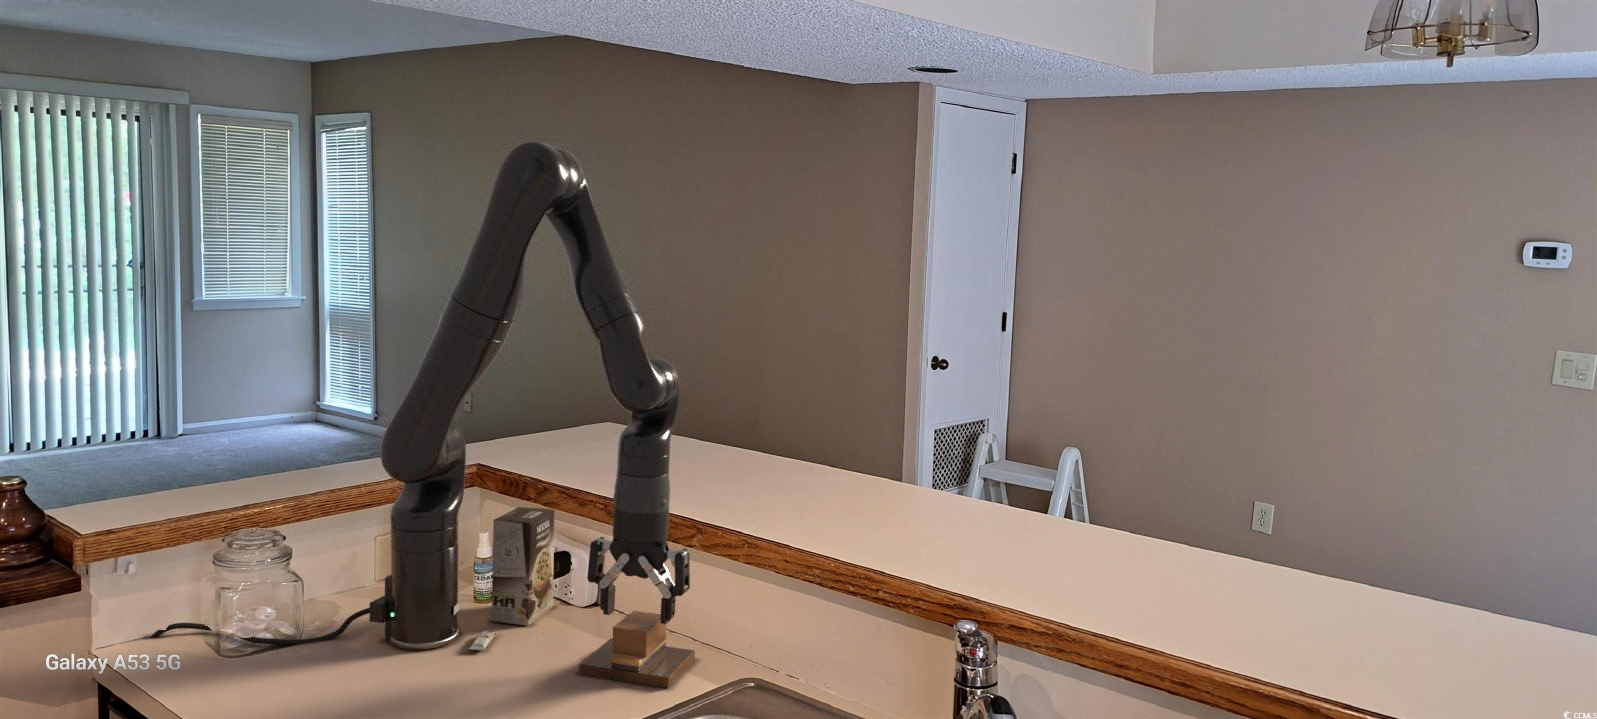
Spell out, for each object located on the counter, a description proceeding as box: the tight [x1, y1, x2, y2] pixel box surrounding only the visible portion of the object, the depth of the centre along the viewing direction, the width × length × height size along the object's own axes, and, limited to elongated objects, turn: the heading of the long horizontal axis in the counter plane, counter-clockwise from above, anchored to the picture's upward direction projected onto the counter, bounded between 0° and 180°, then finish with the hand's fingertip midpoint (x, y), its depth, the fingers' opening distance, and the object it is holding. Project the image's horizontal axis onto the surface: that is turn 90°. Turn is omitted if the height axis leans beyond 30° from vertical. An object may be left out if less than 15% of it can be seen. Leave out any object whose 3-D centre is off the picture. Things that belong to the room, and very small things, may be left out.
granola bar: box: [468, 630, 498, 651], centre depth 154 cm, size 7×2×1 cm, turn 1°
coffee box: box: [491, 506, 556, 627], centre depth 166 cm, size 9×6×16 cm
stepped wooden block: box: [610, 610, 668, 672], centre depth 148 cm, size 10×5×5 cm, turn 165°
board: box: [579, 637, 696, 689], centre depth 149 cm, size 13×10×2 cm
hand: (636, 617), depth 148 cm, fingers open, 8 cm apart
